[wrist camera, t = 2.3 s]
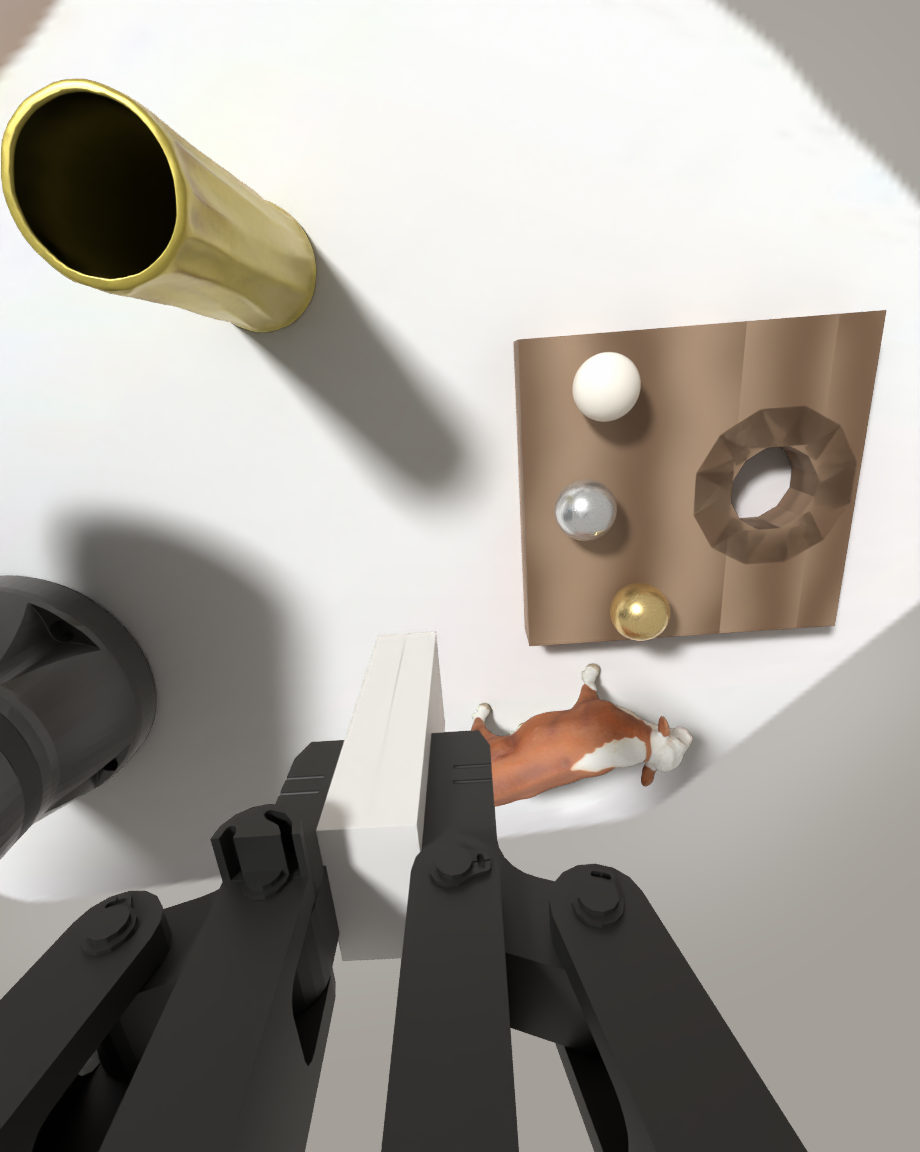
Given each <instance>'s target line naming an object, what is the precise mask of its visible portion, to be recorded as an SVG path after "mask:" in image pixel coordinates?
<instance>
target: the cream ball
mask: <svg viewBox="0 0 920 1152" xmlns="http://www.w3.org/2000/svg"><path fill="white" fill-rule="evenodd" d="M640 388H641V380H640V375H639V372H638V370H637V368H636V366H635V365H634V364H633V362H632V361H631V360H630V359H628V358H627V357H626V356H624V355H622V354H619V353H614V352H604V353H599V354H597V355H594V356H592V357H591V358H589V359H588V360H586V361H585V362H584V363H583V364H582V365H581V367H580V368H579V369H578V371H577V373H576V375H575V378H574V381H573V388H572V391H573V398H574V401H575V404H576V406H577V407H578V409H579V410H580V411H581V412H582V413H583V414H584V415H585V416H587V417H588V418H590V419H592V420H595V421H601V422H608V421H613V420H616V419H618V418H620V417H622V416H624V415H625V414H627V413H628V412H629V411H630V410H631V409H632V407H633V406H634V405H635V403H636V401H637V399H638V397H639V394H640Z"/></svg>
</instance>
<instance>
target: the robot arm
mask: <svg viewBox="0 0 920 1152" xmlns="http://www.w3.org/2000/svg"><path fill="white" fill-rule="evenodd" d="M155 710H156V691H155V685H154V680H153V676H152V673H151V670H150V668H149V665H148V663H147V661H146V659H145V657H144V655H143V653H142V651H141V649H140V648H139V646H138V645H137V643H136V642H135V640H134V639H133V638H132V636H131V635H130V634H129V633H128V631H127V630H126V629H125V628H124V627H123V626H122V625H121V624H120V623H119V622H118V621H117V620H116V619H115V618H114V617H113V616H112V615H110V614H109V613H108V612H107V611H106V610H104V609H103V608H102V607H100V606H99V605H97V604H96V603H94V602H93V601H91V600H90V599H88V598H86V597H85V596H83V595H81V594H79V593H77V592H75V591H73V590H71V589H68V588H66V587H64V586H61V585H58V584H56V583H52V582H49V581H45V580H41V579H37V578H31V577H24V576H0V859H1V858H2V857H3V856H4V855H5V854H6V853H7V852H8V850H9V849H10V848H11V847H12V846H13V845H14V844H15V842H16V841H17V840H18V839H19V838H20V837H21V836H22V835H23V834H24V833H25V832H26V831H27V830H28V828H29V827H30V826H31V825H32V824H34V823H36V822H37V821H39V820H41V819H42V818H44V817H46V816H48V815H49V814H51V813H53V812H55V811H56V810H58V809H60V808H62V807H63V806H65V805H67V804H68V803H70V802H72V801H74V800H75V799H77V798H79V797H81V796H82V795H84V794H86V793H88V792H89V791H91V790H93V789H94V788H96V787H98V786H100V785H101V784H103V783H104V782H106V781H107V780H109V779H110V778H111V777H113V776H114V775H115V774H116V773H117V772H118V771H120V769H121V768H122V767H123V766H124V765H125V764H126V763H127V762H128V761H129V759H130V758H131V757H132V756H133V755H134V753H135V752H136V751H137V750H138V749H139V747H140V746H141V745H142V744H143V742H144V741H145V739H146V738H147V736H148V734H149V732H150V729H151V727H152V724H153V721H154V716H155ZM444 729H445V720H444V709H443V699H442V689H441V679H440V669H439V659H438V648H437V638H436V632H423V633H408V634H392V635H377V638H376V641H375V645H374V648H373V651H372V654H371V657H370V661H369V664H368V667H367V670H366V673H365V676H364V680H363V683H362V686H361V689H360V692H359V696H358V699H357V702H356V705H355V708H354V712H353V715H352V718H351V721H350V724H349V727H348V731H347V734H346V737H345V740H338V741H322V742H311V743H310V744H309V745H308V746H307V747H306V748H305V749H304V750H303V751H302V752H301V753H300V754H299V755H298V756H297V757H296V758H295V759H294V762H293V764H292V766H291V769H290V771H289V773H288V776H287V781H285V783H284V785H283V787H282V790H281V795H280V796H279V797H278V799H277V802H276V804H275V805H273V804H268V805H262V806H257V807H252V808H250V809H248V810H245V811H243V812H241V813H239V814H236V815H235V816H233V817H232V818H231V819H229V820H228V821H227V822H225V823H224V824H223V825H221V826H220V828H219V829H218V830H217V831H216V833H215V834H214V835H213V837H212V838H211V842H212V846H213V849H214V853H215V856H216V860H217V863H218V867H219V870H220V874H221V877H222V881H223V883H222V885H221V887H220V889H218V890H216V891H215V892H212V893H210V894H207V895H205V896H202V897H200V898H197V899H194V900H190V901H188V902H184V903H181V904H178V905H175V906H172V907H169V908H166V909H163V907H162V905H161V903H160V901H159V899H158V897H157V896H156V895H153V894H151V893H149V892H147V891H128V892H125V893H121V894H118V895H115V896H112V897H109V898H108V899H106V900H104V901H102V902H100V903H99V904H97V905H95V906H93V907H92V908H90V909H89V910H88V911H86V912H85V913H84V914H83V915H82V916H81V917H80V918H78V920H76V921H75V922H74V923H73V924H72V925H71V926H70V927H69V928H68V929H67V930H66V931H65V932H64V933H63V934H62V935H61V936H60V937H59V939H58V940H57V941H56V942H55V943H54V944H53V945H52V946H51V947H50V948H49V949H48V950H47V951H46V952H45V953H44V955H42V957H41V958H40V959H39V960H38V961H37V962H36V963H35V964H34V965H33V966H32V967H31V968H30V969H29V970H28V971H27V973H25V975H24V976H23V977H22V978H21V979H20V980H19V981H18V982H17V983H16V984H15V985H14V986H13V987H12V988H11V989H10V990H9V992H8V993H7V994H6V995H5V996H4V997H3V998H2V999H1V1000H0V1152H305V1148H306V1143H307V1138H308V1133H309V1128H310V1123H311V1118H312V1113H313V1108H314V1103H315V1098H316V1092H317V1088H318V1083H319V1078H320V1072H321V1067H322V1062H323V1057H324V1052H325V1047H326V1042H327V1037H328V1032H329V1027H330V1022H331V1017H332V1012H333V1007H334V1001H335V978H334V973H333V968H332V966H333V961H334V956H335V952H336V947H337V942H338V941H339V945H340V950H341V955H342V960H343V961H352V960H374V959H391V958H392V959H394V958H402V959H401V969H400V979H399V988H398V998H397V1007H396V1018H395V1026H394V1035H393V1045H392V1054H391V1064H390V1073H389V1083H388V1092H387V1102H386V1112H385V1121H384V1131H383V1140H382V1150H381V1152H519V1147H518V1133H517V1117H516V1103H515V1089H514V1074H513V1061H512V1046H511V1031H510V1028H513V1029H516V1030H519V1031H522V1032H525V1033H528V1034H531V1035H534V1036H537V1037H540V1038H543V1039H545V1040H548V1041H552V1042H554V1043H556V1046H557V1049H558V1052H559V1055H560V1057H561V1060H562V1063H563V1066H564V1068H565V1071H566V1074H567V1077H568V1080H569V1082H570V1085H571V1088H572V1091H573V1094H574V1096H575V1099H576V1102H577V1105H578V1107H579V1110H580V1113H581V1116H582V1119H583V1121H584V1124H585V1127H586V1130H587V1133H588V1135H589V1138H590V1141H591V1144H592V1146H593V1149H594V1152H807V1150H806V1148H805V1147H804V1145H803V1144H802V1142H801V1141H800V1139H799V1137H798V1136H797V1134H796V1133H795V1131H794V1130H793V1128H792V1126H791V1125H790V1123H789V1122H788V1120H787V1118H786V1117H785V1116H784V1114H783V1112H782V1111H781V1109H780V1107H779V1106H778V1104H777V1103H776V1101H775V1100H774V1098H773V1096H772V1095H771V1093H770V1092H769V1090H768V1089H767V1087H766V1085H765V1084H764V1082H763V1081H762V1079H761V1078H760V1076H759V1074H758V1073H757V1071H756V1070H755V1068H754V1067H753V1065H752V1063H751V1062H750V1060H749V1059H748V1057H747V1055H746V1054H745V1052H744V1051H743V1049H742V1048H741V1046H740V1045H739V1043H738V1041H737V1040H736V1038H735V1037H734V1035H733V1033H732V1032H731V1030H730V1029H729V1027H728V1026H727V1024H726V1022H725V1021H724V1019H723V1018H722V1016H721V1014H720V1013H719V1011H718V1010H717V1008H716V1007H715V1005H714V1003H713V1002H712V1000H711V999H710V997H709V996H708V994H707V992H706V991H705V989H704V988H703V986H702V985H701V983H700V982H699V980H698V978H697V977H696V975H695V974H694V972H693V970H692V969H691V967H690V966H689V964H688V962H687V961H686V959H685V958H684V956H683V955H682V953H681V951H680V950H679V948H678V947H677V945H676V944H675V942H674V940H673V939H672V937H671V936H670V934H669V933H668V931H667V929H666V928H665V926H664V925H663V923H662V922H661V920H660V918H659V917H658V915H657V914H656V912H655V911H654V909H653V907H652V906H651V904H650V903H649V901H648V899H647V898H646V896H645V895H644V893H643V892H642V890H641V889H640V888H639V887H638V886H637V885H636V884H635V883H634V881H633V880H632V879H631V878H630V877H628V876H627V875H625V874H623V873H621V872H620V871H618V870H616V869H614V868H612V867H607V866H603V865H598V864H588V865H577V866H575V867H573V868H571V869H569V870H567V871H565V872H563V873H562V874H561V875H560V877H558V879H557V880H556V881H551V880H547V879H542V878H538V877H535V876H532V875H529V874H526V873H524V872H522V871H521V870H519V869H517V868H516V867H514V866H513V865H512V864H511V863H510V862H509V861H508V860H507V859H506V858H504V856H503V854H502V852H501V850H500V849H499V846H498V841H497V833H496V820H495V806H494V792H493V778H492V765H491V751H490V744H489V743H488V742H487V740H486V739H485V738H484V736H483V735H482V734H481V732H480V731H479V730H475V731H458V732H444Z"/></svg>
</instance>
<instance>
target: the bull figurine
mask: <svg viewBox="0 0 920 1152" xmlns="http://www.w3.org/2000/svg"><path fill="white" fill-rule="evenodd" d="M599 673H600V667H599V666H598V665H597V664H589V665H588V666H587V667H586V670H585V671H583V672H582V680H583V681H584V685H583V686H582V689H581V693H580V696H579V699H578V701H577V702H576V704H575V705H574V706H573V708H572V709H570V710H564V711H553V712H546V713H542V714H539V715H536V716H534V717H532V718H530V719H529V720H527V721H526V722H525V723H521V724H520V725H519V726H518V728H517V729H516V731H515V732H513V731H511V732H510V735H508V736H496V735H494V734H492V733H491V732H490V731H489V730H488V729H487V728H486V727H485V720H486V718H487V716H488V715H489V713H490V712H491V707H490V706H489V704H487V703H483V704H480V705H479V706H478V707H477V712H476V713H474V714H473V715H472V718H473V725H472V729H471V731H475V730H479V731H480V732H481V734H482V735H483V736H484V738H485V739H486V740H487V742H488V743H489V744H490V751H491V765H492V778H493V792H494V806H500V805H505V804H508V803H511V802H514V801H517V800H521V799H528V798H531V797H534V796H536V795H538V794H540V793H542V792H544V791H547V790H549V789H552V788H555V787H558V786H562V785H566V784H569V783H572V782H575V781H578V780H580V779H583V778H587V777H595V776H599V775H603V774H605V773H607V772H609V771H611V770H612V769H614V768H616V767H630V766H633V765H636V764H639V763H642V762H645V765H644V767H643V770H642V776H641V783H642V785H643V786H648V785H650V784H651V783H652V782H653V779H654V775H655V772H656V770H659V771H661V772H668V771H671V770H673V769H675V768H676V767H677V766H678V765H679V764H680V763H681V761H682V758H683V755H684V753H685V751H686V750H687V749H688V748H689V746H690V744H691V742H692V739H693V738H692V736H691V735H690V734H689V732H688V730H687V729H685V728H683V727H676V728H675V729H672V728H669V725H668V723H667V720H666V719H665V717H662V716H661V717H660V718H659V723H658V726H657V725H655V724H652V723H649V722H647V721H645V720H643V719H640V718H639V717H638V716H637V715H636V714H635V713H633V712H632V711H630V710H628V709H626V708H622V707H619V706H616V705H614V704H612V703H611V702H608V701H604V700H599V698H598V696H597V694H596V693H597V688H596V686H595V685H594V682H595V680H596V677H597V676H598V675H599Z"/></svg>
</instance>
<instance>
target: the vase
mask: <svg viewBox="0 0 920 1152" xmlns="http://www.w3.org/2000/svg"><path fill="white" fill-rule="evenodd" d="M1 180H2V188H3V193H4V196H5V200H6V203H7V205H8V208H9V210H10V213H11V215H12V217H13V219H14V221H15V223H16V225H17V227H18V229H19V230H20V232H21V233H22V235H23V236H24V238H25V239H26V241H27V242H28V243H29V244H30V246H31V247H32V248H33V249H34V250H35V251H36V252H37V253H38V254H39V255H40V256H41V257H42V258H43V259H44V260H45V261H47V262H48V263H49V264H50V265H51V266H52V267H53V268H55V269H56V270H57V271H58V272H60V273H61V274H62V275H64V276H65V277H67V278H69V279H70V280H72V281H74V282H77V283H80V284H83V285H86V286H89V287H92V288H95V289H98V290H101V291H104V292H107V293H110V294H116V295H120V296H126V297H133V298H137V299H141V300H146V301H150V302H154V303H159V304H164V305H170V306H175V307H179V308H182V309H185V310H188V311H191V312H194V313H197V314H200V315H203V316H206V317H211V318H214V319H217V320H223V321H227V322H230V323H232V324H234V325H236V326H238V327H241V328H244V329H247V330H250V331H254V332H259V333H260V332H271V331H275V330H279V329H281V328H284V327H286V326H288V325H290V324H292V323H293V322H294V321H296V320H297V319H298V318H299V317H300V316H301V315H302V313H303V312H304V311H305V310H306V308H307V306H308V305H309V303H310V301H311V299H312V296H313V293H314V289H315V283H316V262H315V257H314V253H313V249H312V247H311V244H310V242H309V239H308V237H307V236H306V234H305V232H304V230H303V229H302V227H301V226H300V225H299V223H298V222H297V221H296V220H295V219H294V218H293V217H292V216H291V215H290V214H289V213H287V212H286V211H285V210H283V209H282V208H280V207H278V206H277V205H275V204H273V203H271V202H269V201H266V200H264V199H263V198H262V197H261V196H260V195H259V194H257V193H256V192H255V191H254V190H253V189H251V188H250V187H248V186H247V185H246V184H244V183H243V182H241V181H240V180H238V179H237V178H236V177H234V176H233V175H232V174H231V173H229V172H228V171H227V170H225V169H224V168H222V167H221V166H219V165H218V164H217V163H215V162H214V161H213V160H211V159H210V158H208V157H207V156H206V155H204V154H203V153H202V152H200V151H199V150H198V149H196V148H195V147H194V146H192V145H191V144H190V143H189V142H187V141H186V140H185V139H184V138H182V137H181V136H180V135H179V134H177V133H176V132H175V131H174V130H172V129H171V128H170V127H169V126H168V125H166V124H165V123H164V122H163V121H162V120H160V119H159V118H158V117H157V116H156V115H155V114H153V113H152V112H151V111H150V110H148V109H147V108H145V107H144V106H143V105H141V104H140V103H138V102H137V101H135V100H133V99H132V98H130V97H129V96H127V95H125V94H123V93H121V92H119V91H117V90H115V89H113V88H111V87H109V86H106V85H104V84H101V83H99V82H95V81H91V80H87V79H66V80H60V81H57V82H53V83H51V84H49V85H47V86H46V87H44V88H42V89H40V90H38V91H37V92H35V93H33V94H32V95H31V96H29V97H28V98H26V99H25V100H24V101H23V102H22V103H21V104H20V105H19V107H18V108H17V110H16V111H15V113H14V114H13V116H12V117H11V119H10V121H9V122H8V124H7V127H6V130H5V132H4V135H3V139H2V146H1Z"/></svg>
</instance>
